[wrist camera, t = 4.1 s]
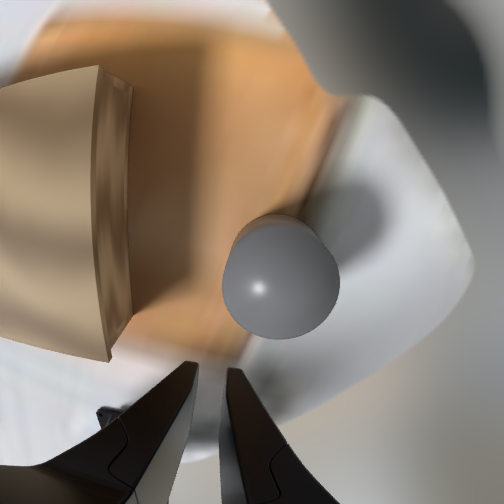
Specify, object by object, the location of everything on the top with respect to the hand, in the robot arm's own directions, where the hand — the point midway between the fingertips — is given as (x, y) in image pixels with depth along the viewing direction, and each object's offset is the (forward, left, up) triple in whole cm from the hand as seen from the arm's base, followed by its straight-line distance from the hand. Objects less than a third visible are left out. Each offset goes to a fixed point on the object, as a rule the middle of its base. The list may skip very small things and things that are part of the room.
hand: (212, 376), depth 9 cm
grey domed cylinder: (0, -3, -12) cm, 13 cm away
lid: (+3, +16, -7) cm, 18 cm away
